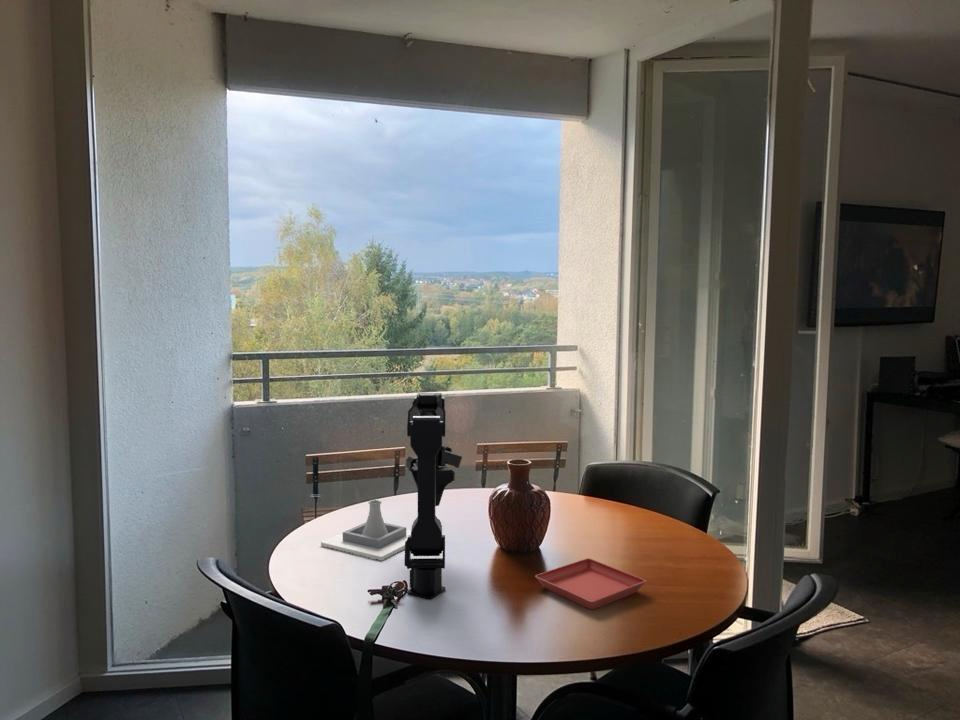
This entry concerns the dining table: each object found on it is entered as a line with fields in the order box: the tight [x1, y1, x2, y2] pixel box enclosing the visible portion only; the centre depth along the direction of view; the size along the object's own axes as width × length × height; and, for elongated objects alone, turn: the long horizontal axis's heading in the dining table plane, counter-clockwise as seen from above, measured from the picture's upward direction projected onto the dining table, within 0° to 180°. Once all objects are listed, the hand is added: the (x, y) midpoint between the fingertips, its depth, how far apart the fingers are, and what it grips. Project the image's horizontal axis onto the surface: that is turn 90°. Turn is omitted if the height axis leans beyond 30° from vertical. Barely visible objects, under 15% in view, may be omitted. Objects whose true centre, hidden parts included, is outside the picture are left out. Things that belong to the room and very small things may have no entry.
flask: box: [362, 499, 388, 538], centre depth 193 cm, size 7×7×10 cm
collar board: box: [320, 522, 411, 561], centre depth 193 cm, size 20×20×3 cm
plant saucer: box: [534, 557, 647, 610], centre depth 163 cm, size 18×18×3 cm
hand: (429, 500), depth 186 cm, fingers open, 9 cm apart
